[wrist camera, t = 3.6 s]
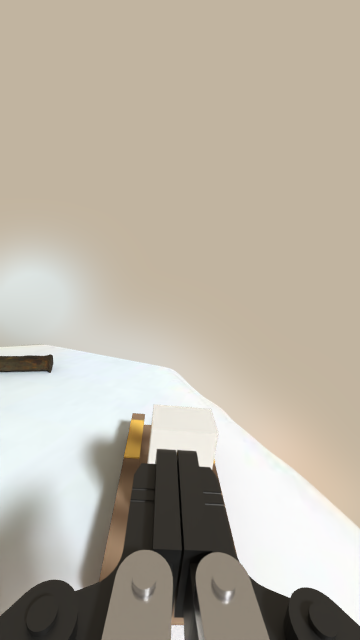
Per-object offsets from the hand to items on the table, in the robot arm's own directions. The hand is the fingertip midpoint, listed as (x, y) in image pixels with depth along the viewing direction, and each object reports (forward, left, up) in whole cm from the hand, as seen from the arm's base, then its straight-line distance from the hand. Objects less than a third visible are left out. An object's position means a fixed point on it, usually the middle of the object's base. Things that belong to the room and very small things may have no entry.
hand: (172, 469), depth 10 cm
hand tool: (-60, +6, -23) cm, 64 cm away
